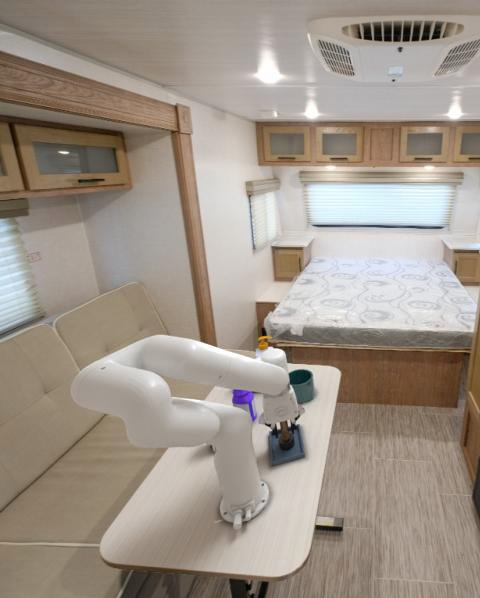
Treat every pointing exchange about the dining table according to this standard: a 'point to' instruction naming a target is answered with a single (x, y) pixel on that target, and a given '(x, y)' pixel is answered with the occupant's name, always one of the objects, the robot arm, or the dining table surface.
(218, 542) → the dining table surface
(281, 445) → the scrub brush
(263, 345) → the soap bottle
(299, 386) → the canister
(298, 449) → the dish
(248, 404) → the bottle
